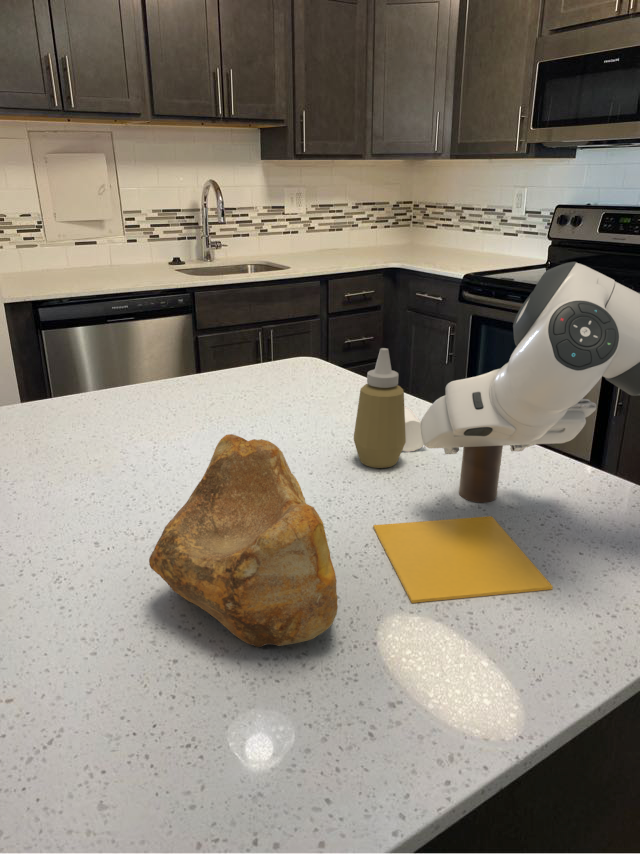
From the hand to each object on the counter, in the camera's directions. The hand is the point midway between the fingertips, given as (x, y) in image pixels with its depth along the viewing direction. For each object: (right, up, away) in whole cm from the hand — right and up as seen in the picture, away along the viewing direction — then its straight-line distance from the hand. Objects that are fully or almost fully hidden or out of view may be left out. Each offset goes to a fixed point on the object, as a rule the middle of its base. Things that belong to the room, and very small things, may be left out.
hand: (482, 447), depth 91 cm
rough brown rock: (-31, -15, -21) cm, 40 cm away
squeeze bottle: (-13, -3, +13) cm, 18 cm away
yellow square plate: (-6, -12, -13) cm, 19 cm away
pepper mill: (0, -7, +2) cm, 7 cm away
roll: (-9, +1, +22) cm, 24 cm away
